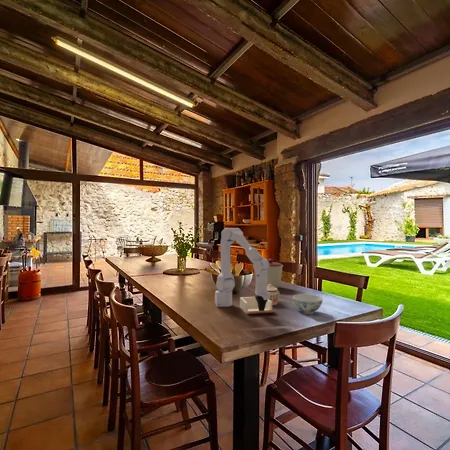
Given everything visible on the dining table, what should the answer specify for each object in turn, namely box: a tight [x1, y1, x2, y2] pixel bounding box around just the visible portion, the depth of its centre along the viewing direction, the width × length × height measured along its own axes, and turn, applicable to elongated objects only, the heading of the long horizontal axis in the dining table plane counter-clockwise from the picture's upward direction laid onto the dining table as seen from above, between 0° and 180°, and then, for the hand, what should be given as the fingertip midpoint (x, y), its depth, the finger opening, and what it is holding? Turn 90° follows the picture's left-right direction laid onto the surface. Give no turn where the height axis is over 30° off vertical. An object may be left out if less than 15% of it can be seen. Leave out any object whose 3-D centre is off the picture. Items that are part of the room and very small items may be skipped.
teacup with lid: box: [267, 284, 281, 306], centre depth 165 cm, size 12×9×12 cm
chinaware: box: [292, 293, 324, 315], centre depth 150 cm, size 15×15×8 cm
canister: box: [267, 258, 284, 289], centre depth 210 cm, size 18×18×21 cm
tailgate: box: [245, 309, 276, 315], centre depth 143 cm, size 14×1×5 cm
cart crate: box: [239, 296, 273, 314], centre depth 151 cm, size 14×12×6 cm
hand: (261, 311), depth 142 cm, fingers closed, pressing on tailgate
